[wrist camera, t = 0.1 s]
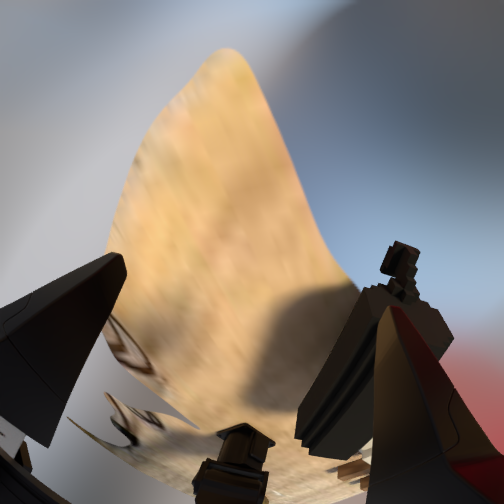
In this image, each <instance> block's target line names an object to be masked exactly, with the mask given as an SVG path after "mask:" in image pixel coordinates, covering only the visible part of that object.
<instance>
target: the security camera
mask: <svg viewBox="0 0 504 504" xmlns="http://www.w3.org/2000/svg"><path fill="white" fill-rule="evenodd" d="M419 254H420V251H419V250H418V249H416V248H414V247H411V246H409V245H406V244H403V243H401V242H398V241H395V242H394V245H393V247H392V246H389V248H388V251H387V253H386V256H385V258H384V260H383V263H382V265H381V267H380V271H381V273H383V274H386V275H389V276H392V277H395V278H392V277H391V278H390V280H389V282H388V284H387V285H384V284H381V283H378V285H377V286H374V285H372V286H371V287H370V288H367V287H364V288H363V290H362V292H361V294H360V297H359V299H358V301H357V303H356V305H355V307H354V309H353V311H352V313H351V315H350V317H349V319H348V321H347V323H346V325H345V327H344V329H343V331H342V333H341V335H340V337H339V339H338V341H337V343H336V344H335V346H334V348H333V350H332V352H331V354H330V355H329V357H328V359H327V361H326V363H325V364H324V366H323V368H322V370H321V371H320V373H319V375H318V377H317V378H316V380H315V382H314V383H313V385H312V387H311V388H310V390H309V392H308V393H307V395H306V396H305V398H304V400H303V401H302V403H301V404H300V406H299V408H298V413H297V421H296V429H295V436H294V439H299V440H302V444H301V447H305V448H309V454H308V455H312V456H318V457H324V458H331V459H339V460H348V459H349V458H350V457H351V456H352V455H354V454H355V453H357V452H358V451H359V450H360V449H362V448H363V447H364V446H365V445H366V444H367V443H368V442H369V441H370V440H371V439H372V438H373V422H374V367H375V356H376V343H377V328H378V324H379V321H380V319H381V318H382V316H383V314H384V312H385V310H386V308H387V307H388V306H397V307H400V308H401V309H402V310H403V311H404V313H405V314H406V315H407V317H408V318H409V320H410V321H411V322H412V324H413V325H414V327H415V328H416V329H417V331H418V332H419V334H420V335H421V337H422V338H423V339H424V341H425V342H426V344H427V345H428V347H429V348H430V350H431V351H432V353H433V354H434V356H435V357H436V359H437V360H438V362H439V360H440V359H441V357H442V356H443V354H444V353H445V351H446V350H447V349H448V347H449V346H450V344H451V343H452V341H453V340H454V337H453V335H452V333H451V331H450V330H449V328H448V326H447V324H446V323H445V321H444V320H443V317H442V316H441V314H440V312H439V311H438V309H434V308H431V307H430V305H429V304H428V302H425V301H421V300H420V298H419V295H420V293H419V292H418V290H417V288H416V286H415V285H416V281H415V279H414V277H415V275H416V272H417V270H418V269H417V268H416V266H415V264H416V262H417V260H418V257H419Z"/></svg>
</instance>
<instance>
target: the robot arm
mask: <svg viewBox="0 0 504 504" xmlns="http://www.w3.org/2000/svg"><path fill="white" fill-rule="evenodd" d="M126 277H127V270H126V266H125V262H124V258H123V256H122V255H121V254H119V253H115V252H111V253H108V254H106V255H104V256H102V257H100V258H98V259H96V260H94V261H92V262H90V263H88V264H86V265H84V266H82V267H80V268H78V269H76V270H74V271H72V272H70V273H68V274H66V275H64V276H62V277H60V278H58V279H56V280H54V281H52V282H51V283H48V284H47V285H44V286H43V287H41V288H39V289H37V290H35V291H33V293H29V294H28V295H26V296H24V297H22V298H20V299H18V300H16V301H15V302H13V303H11V304H8V305H6V306H4V307H2V308H0V504H71V503H70V502H68V501H67V500H65V499H64V498H62V497H61V496H59V495H58V494H57V493H55V492H54V491H52V490H51V489H50V488H48V487H47V486H46V485H44V484H43V483H42V482H40V481H39V480H38V479H37V478H35V477H34V476H33V475H32V474H31V472H32V469H33V468H32V465H31V461H30V457H29V453H28V448H27V444H26V442H25V441H24V438H25V436H26V435H27V436H29V437H30V438H32V439H33V440H35V441H36V442H38V443H40V444H41V445H43V446H44V447H46V448H49V446H50V444H51V441H52V439H53V436H54V433H55V431H56V428H57V426H58V423H59V420H60V418H61V416H62V413H63V411H64V409H65V406H66V403H67V401H68V399H69V396H70V394H71V392H72V390H73V388H74V386H75V383H76V381H77V379H78V377H79V375H80V373H81V370H82V368H83V366H84V364H85V362H86V360H87V358H88V356H89V354H90V352H91V350H92V348H93V346H94V344H95V342H96V340H97V338H98V336H99V334H100V332H101V331H102V329H103V327H104V325H105V323H106V321H107V319H108V317H109V315H110V314H111V312H112V309H113V307H114V305H115V302H116V300H117V298H118V296H119V293H120V291H121V289H122V286H123V284H124V282H125V280H126ZM217 436H218V437H220V438H221V439H223V440H224V442H223V445H222V448H221V451H220V453H219V456H218V459H217V461H215V460H211V459H210V458H207V459H206V461H203V462H202V464H201V467H200V469H199V471H198V473H197V474H196V476H195V477H194V479H193V480H192V485H193V487H194V492H193V494H194V495H196V498H195V504H263V501H264V497H265V492H266V487H267V481H268V476H269V472H268V471H262V466H263V463H264V462H265V459H266V455H267V450H268V448H270V447H273V446H275V444H276V443H275V442H274V441H273V440H271V439H269V438H268V437H266V436H265V435H263V434H262V433H260V432H259V431H257V430H256V429H255V428H253V427H252V426H250V425H249V424H242V425H239V426H236V427H233V428H230V429H227V430H224V431H220V432H218V433H217ZM368 485H369V486H368V491H367V499H366V504H504V455H502V454H501V453H500V452H498V451H497V449H496V448H495V447H494V446H493V445H492V443H491V442H490V440H489V439H488V437H487V436H486V434H485V433H484V431H483V430H482V428H481V427H480V425H479V424H478V422H477V421H476V420H475V418H474V417H473V415H472V414H471V412H470V411H469V409H468V408H467V406H466V405H465V403H464V401H463V400H462V398H461V397H460V395H459V393H458V392H457V390H456V389H455V388H454V385H453V384H452V382H451V380H450V379H449V377H448V376H447V374H446V373H445V371H444V369H443V368H442V366H441V365H440V363H439V362H438V360H437V359H436V357H435V356H434V354H433V353H432V351H431V350H430V348H429V347H428V345H427V344H426V342H425V341H424V339H423V338H422V337H421V335H420V334H419V332H418V331H417V329H416V328H415V327H414V325H413V324H412V322H411V321H410V320H409V318H408V317H407V315H406V314H405V313H404V311H403V310H402V309H401V308H400V307H397V306H388V307H387V308H386V310H385V312H384V314H383V316H382V318H381V319H380V321H379V324H378V328H377V343H376V356H375V367H374V422H373V441H372V455H371V466H370V476H369V484H368Z"/></svg>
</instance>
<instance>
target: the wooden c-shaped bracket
mask: <svg viewBox="0 0 504 504" xmlns="http://www.w3.org/2000/svg"><path fill="white" fill-rule="evenodd" d="M370 466H371V465H370V464H369V463H367V462H365V461H364V460H362V459H359V460H356V461H353V462H350V463H347V464H344V465H341V466H338V479H340V480H342V481H345V480H349V479H352V478H355V477H358V476H362V475H365V474H368V473H370ZM368 484H369V476H367V477H364V478H361V479H360V489H361V490H363V491H368V486H369V485H368Z"/></svg>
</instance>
